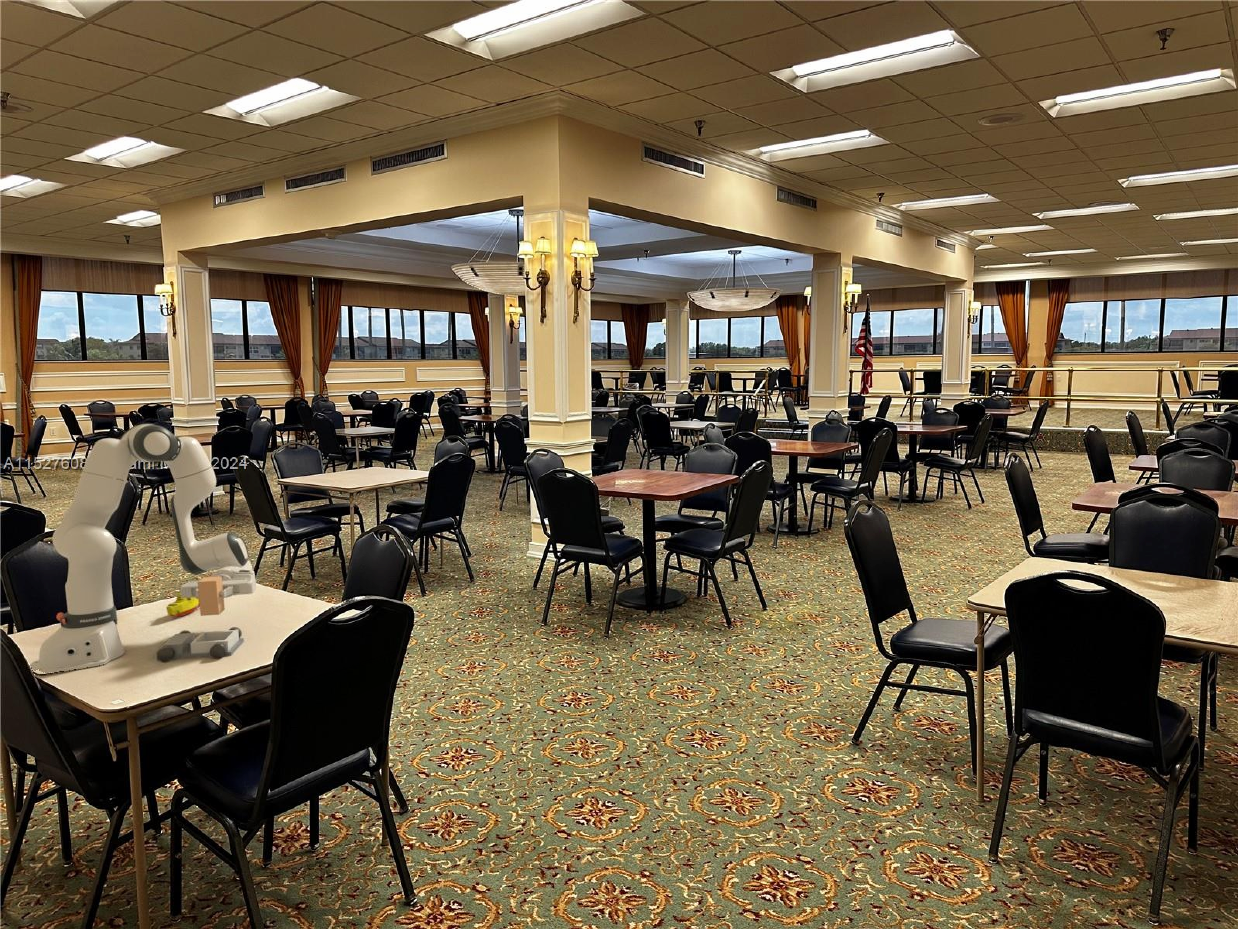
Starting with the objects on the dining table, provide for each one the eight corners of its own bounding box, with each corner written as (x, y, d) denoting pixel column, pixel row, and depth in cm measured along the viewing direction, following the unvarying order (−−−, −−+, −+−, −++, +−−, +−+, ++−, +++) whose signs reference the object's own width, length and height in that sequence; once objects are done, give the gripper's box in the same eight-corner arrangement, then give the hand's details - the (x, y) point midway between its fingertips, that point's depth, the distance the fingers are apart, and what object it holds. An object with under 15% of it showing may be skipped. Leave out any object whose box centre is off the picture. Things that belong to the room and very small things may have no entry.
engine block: (200, 615, 237) (197, 582, 236) (206, 610, 242) (203, 577, 241) (219, 614, 238) (216, 580, 236) (224, 609, 243) (221, 576, 241)
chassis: (153, 663, 231) (152, 649, 231) (175, 644, 247) (174, 631, 246) (228, 657, 234) (227, 644, 234) (245, 639, 250) (244, 626, 249)
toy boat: (211, 605, 286) (208, 577, 285) (178, 622, 269) (175, 592, 267) (193, 605, 287) (191, 577, 286) (160, 621, 269) (157, 592, 268)
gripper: (188, 574, 250) (170, 586, 236) (259, 570, 253) (245, 582, 239) (190, 594, 251) (172, 608, 237) (261, 590, 254) (247, 603, 240)
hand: (210, 595), depth 238 cm, fingers closed on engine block, 5 cm apart
